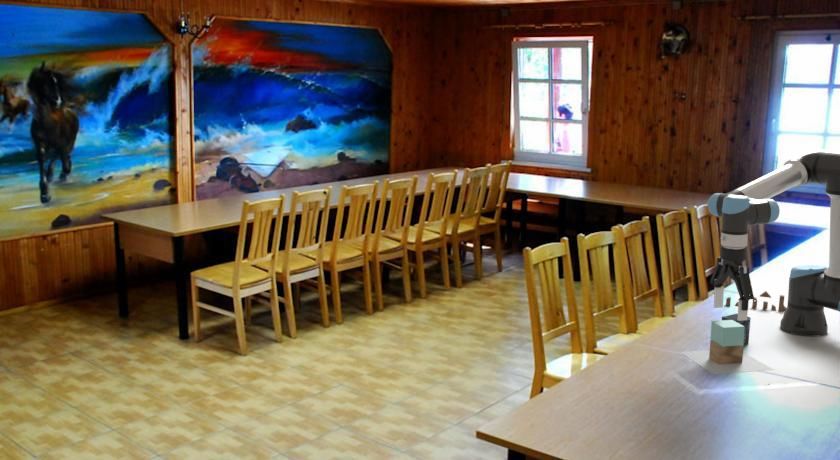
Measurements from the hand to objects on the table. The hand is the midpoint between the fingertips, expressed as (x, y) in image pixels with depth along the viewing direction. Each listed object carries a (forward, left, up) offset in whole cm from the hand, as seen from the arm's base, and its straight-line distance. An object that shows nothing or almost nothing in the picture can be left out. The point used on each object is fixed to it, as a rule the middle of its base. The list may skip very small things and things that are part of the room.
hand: (729, 313), depth 250 cm
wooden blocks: (-49, -53, -17) cm, 74 cm away
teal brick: (+1, 0, -9) cm, 9 cm away
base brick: (0, 0, -15) cm, 15 cm away
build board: (0, 0, -16) cm, 16 cm away
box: (-11, -14, -17) cm, 25 cm away
